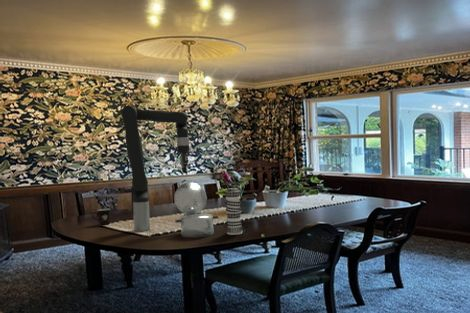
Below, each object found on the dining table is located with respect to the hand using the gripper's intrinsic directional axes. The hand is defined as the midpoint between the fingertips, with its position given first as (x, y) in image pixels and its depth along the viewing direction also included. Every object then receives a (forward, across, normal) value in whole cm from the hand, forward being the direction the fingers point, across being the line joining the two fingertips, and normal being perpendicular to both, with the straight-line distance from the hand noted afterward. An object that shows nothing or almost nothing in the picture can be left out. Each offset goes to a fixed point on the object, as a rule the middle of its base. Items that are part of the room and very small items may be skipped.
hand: (184, 172), depth 270 cm
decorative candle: (+33, +36, +19) cm, 53 cm away
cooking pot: (+33, +27, 0) cm, 43 cm away
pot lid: (+15, +14, 0) cm, 21 cm away
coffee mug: (+33, -37, -49) cm, 70 cm away
